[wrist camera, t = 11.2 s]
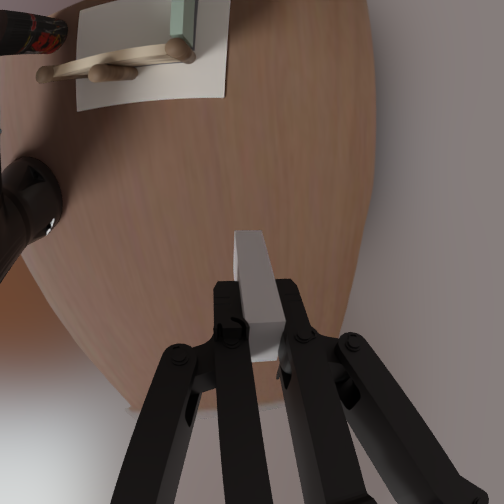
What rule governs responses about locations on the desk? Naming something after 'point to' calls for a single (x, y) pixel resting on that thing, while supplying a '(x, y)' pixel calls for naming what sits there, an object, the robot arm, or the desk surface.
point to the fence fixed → (118, 63)
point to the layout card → (153, 33)
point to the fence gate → (182, 20)
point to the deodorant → (30, 33)
